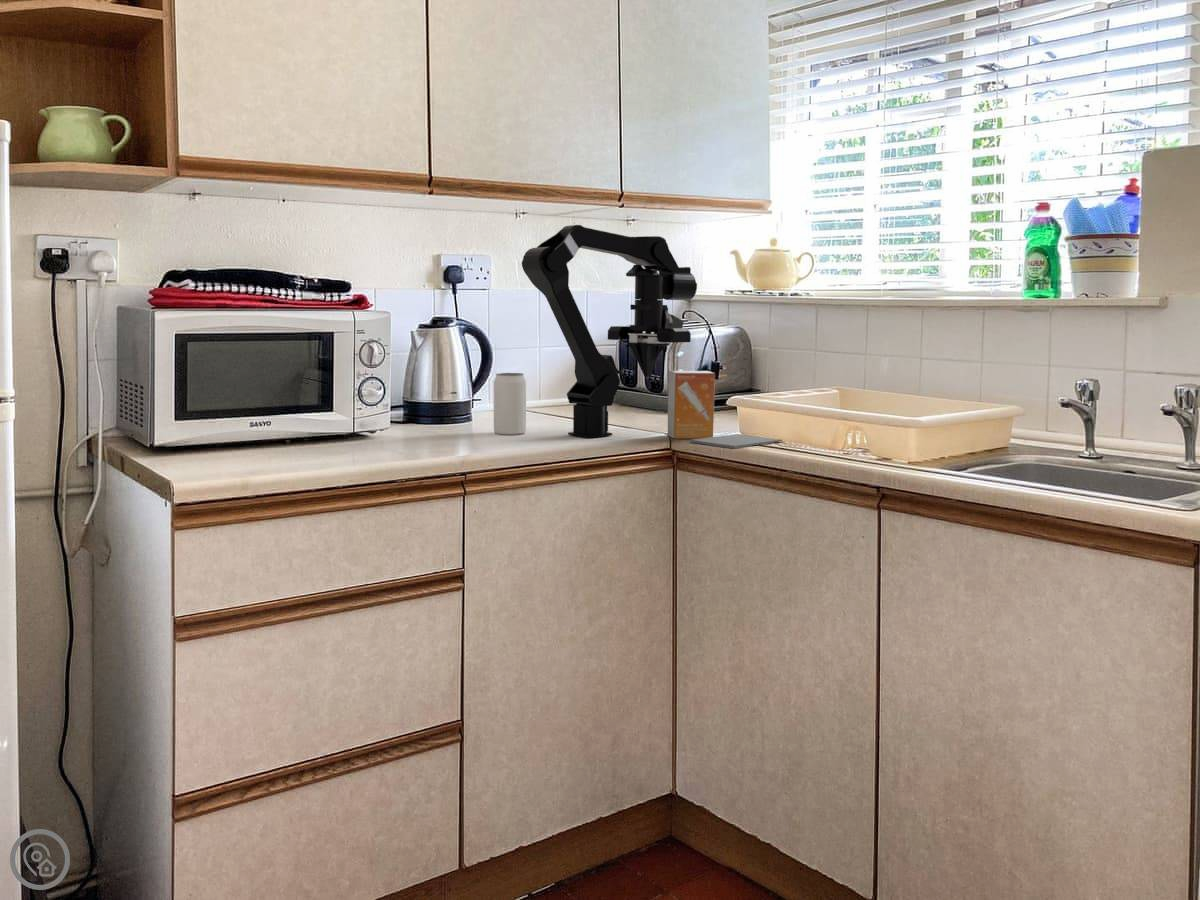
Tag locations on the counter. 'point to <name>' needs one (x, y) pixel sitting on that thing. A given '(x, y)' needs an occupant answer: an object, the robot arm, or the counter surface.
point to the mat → (735, 441)
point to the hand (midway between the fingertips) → (647, 376)
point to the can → (509, 404)
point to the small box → (691, 404)
